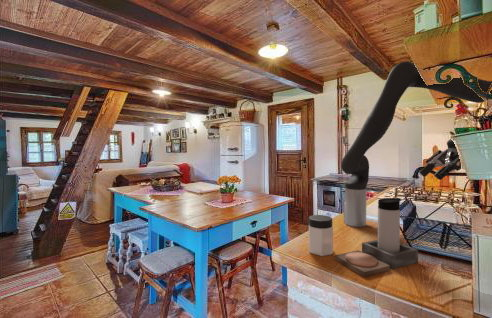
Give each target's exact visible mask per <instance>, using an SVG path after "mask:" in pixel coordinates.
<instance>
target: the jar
mask: <svg viewBox="0 0 492 318" xmlns="http://www.w3.org/2000/svg"><path fill="white" fill-rule="evenodd" d="M307 222H308V250H309V253H310V254H312V255H317V256H320V257H325V256H330V255H333V254H334V247H333V246H334V227H333V218H332V217H331V216H329V215H325V214H313V215H309V216H308V221H307Z"/></svg>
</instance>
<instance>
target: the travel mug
mask: <svg viewBox="0 0 492 318" xmlns="http://www.w3.org/2000/svg"><path fill="white" fill-rule="evenodd" d="M401 201H402V199H401V197H385V198H379V199H378V200H377V203H378V204H377V240H378V248H379V249H381V250H383V251H386V252H388V253H390V254H393V253H398V252H399V249H400V240H401V238H400V237H401V235H400V233H401V231H400V230H401V226H400V225H401V222H400V221H401V219H400V218H401V208H400V206H401V205H400V204H401Z"/></svg>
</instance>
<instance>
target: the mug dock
mask: <svg viewBox="0 0 492 318" xmlns="http://www.w3.org/2000/svg"><path fill="white" fill-rule="evenodd" d="M334 260H335V261H336V262H338V263H340V265H341V264H342V265H343V266H344V267H346V268H348V269H349V270H351V271H353V272H354V273H356V274H358V275H360V276H362V277H363V278H367V277H370V276H371V277H372V276H375V275H377V274H382V273H386V272H390V271H391V270H393V269H398V268H402V267H405V266H409V265H414V264H418V263H419V250H418V249H416V248H414V247H412V246H409V245H406V244H403V243H400V249H399V252H398V253H393V254H390V253H388V252H386V251H383V250H381V249H379V248H378V239H374V240H370V241H365V242H362V243H361V250H359V249H358V250H354V251H350V252H344V253H340V254H335V255H334Z"/></svg>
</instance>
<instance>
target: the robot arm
mask: <svg viewBox="0 0 492 318" xmlns="http://www.w3.org/2000/svg"><path fill="white" fill-rule="evenodd" d="M414 63H415V62H411V61H401V62H399V63H397V64H395V65H394V66H393V67H392V69H391V70H390V72H389V74H388V76H387V78H386V81H385V83H384V85H383V88H382V90H381V93H380V94H379V97H378V98H377V99H376V101H375V104H374V105H373V107H372V108H371V111H370V112H369V114H368V116H367V117H366V119H365V121H364V123H363V125H362V127H361V129H360V131H359V133H358V134H357V136H356V138H355V140H353V141H354V142H353V143H352V144H351V146H350V148H349V149H348V151H346V153H345V154H344V156H343V158H342V159H341V164H340V165H341V166H340V168H341V170H342V172H343V173H344V174H345V175H351V176H350V178H349V179H348V180H346V181H345V183H344V200H345V201H344V203H343V223H344V224H345V225H346V226H350V227H356V228H363V227H366V226H367V185H368V184H369V175H370V163H369V159H368V157H367V156H366V155H365V154H366V152H367V151H369V150H370V149H371V148H372V147H373V146H375V144H377V142H379V141H380V140H381V139H382V138H383V137H384V135H385V134H386V133H387V130H388V129H389V127H390V126H391V124H392V121H393V119H394V116H395V113H396V108H397V105H398V104H399V101H400V99H402V98H401V97H402V96H403V95H404V94H405V91H407V89H408V88H419V89H420V88H421V89H426V90H432V91H434V92H438V93H441V94H443V95H446V96H449V97H452V98H456V99H460V100H463V101H468V102H471V103H476V104H481V103H485V101H484V100H483V99H482V98H481V97H479V96H478V95H477V94H476V93H475V92H474V91H473V90H472V89H470V88H469V87H467V86H466V85H464V83H463V80H462V78H461V77H460V78H453V79H452V80H451V81H450V82H449V83H446V84H433V85H428V86H427V85H426V84H425V82H424V81H423V79H422V78H421V76H420V74H419V72H418V70H417V68H416V67H415V65H414ZM477 79H478V83H479V86H480V88H481V89H482V91H484V92H487V91H488V89H489V87H490V85H491V83H492V80H487V79H486V80H485V79H481V78H477ZM490 93H491V94H492V90H491V91H490ZM446 145H447V149H444V150H441V149H438V150H437V151H436V152H435V153H433V154H432V156H430V157H429V158H428V159H426V160H425V164H426V165H425V166H424V167H422V168H421V169H420V170H419V174H420V175H421V176H422V177H427V176H428V175H429V174H430V173H431V172H433V170H435V169H437V168H438V167H441V168H439V169H438V170H437V171H436V172H435V173H434V175H433V176H434V177H435V178H436V179H437V180H439V181H442V180H443V179H444V178H445V177H446V176H447V175H448V174H450V173H452V172H455V170H456V171H457V172H458V171H460V170H461V169H462V168H461V164H460V159H459V155H458V152H457V149H456V147H455V144H454V142H453V141H452V140H451V138H450V139H448V140H447V142H446Z"/></svg>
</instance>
